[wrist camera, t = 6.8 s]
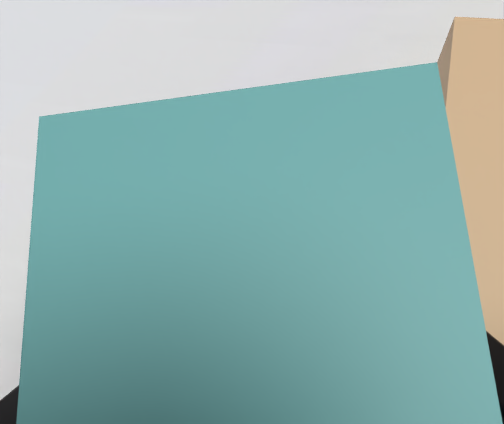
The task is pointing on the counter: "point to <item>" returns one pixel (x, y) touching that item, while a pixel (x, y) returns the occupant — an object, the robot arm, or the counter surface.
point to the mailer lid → (255, 261)
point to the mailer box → (479, 148)
